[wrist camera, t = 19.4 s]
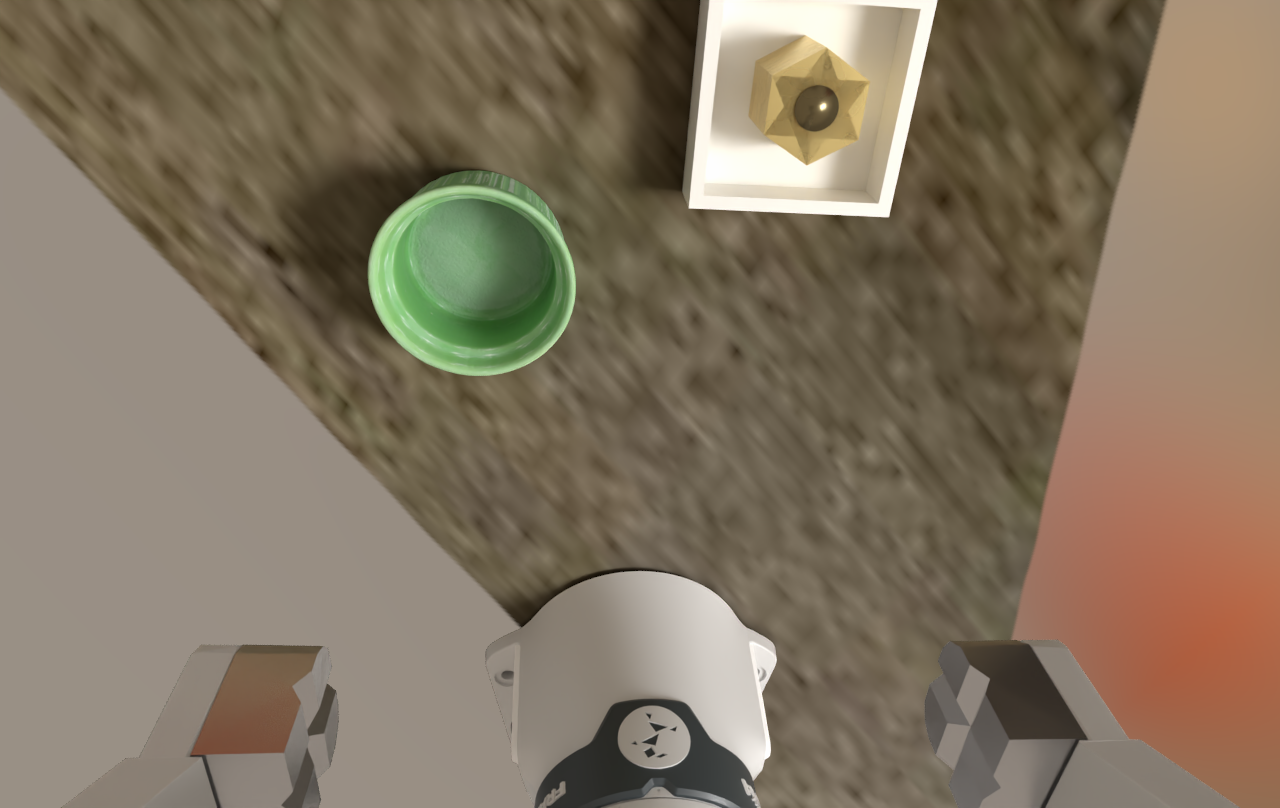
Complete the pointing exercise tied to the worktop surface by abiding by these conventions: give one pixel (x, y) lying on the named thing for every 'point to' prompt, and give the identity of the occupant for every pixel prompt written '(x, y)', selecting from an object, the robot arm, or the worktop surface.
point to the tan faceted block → (808, 100)
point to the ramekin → (473, 274)
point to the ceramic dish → (755, 165)
